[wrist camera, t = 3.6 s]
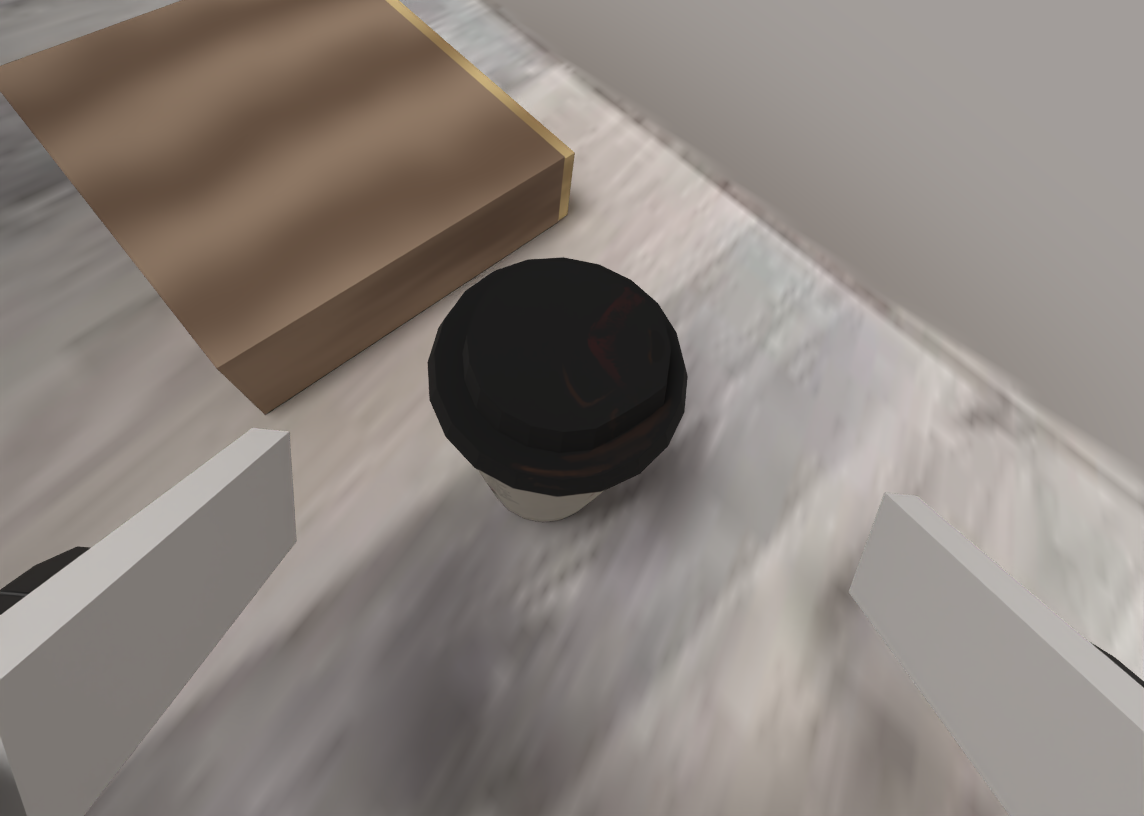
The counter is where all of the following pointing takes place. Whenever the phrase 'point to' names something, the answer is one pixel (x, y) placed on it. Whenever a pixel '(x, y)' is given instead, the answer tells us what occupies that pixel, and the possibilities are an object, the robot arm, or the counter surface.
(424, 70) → the brown flat square block
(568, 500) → the coffee cup
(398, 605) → the counter surface
